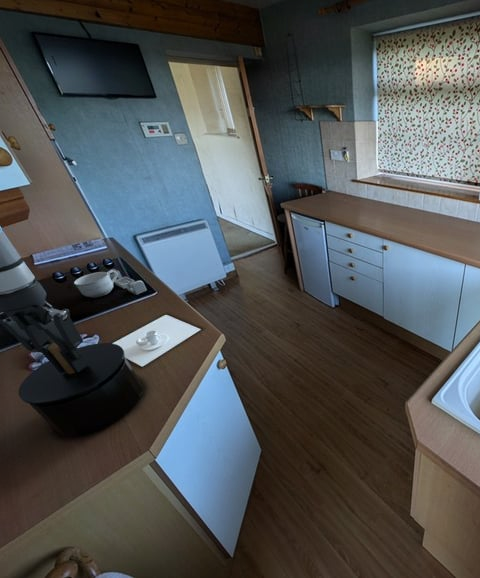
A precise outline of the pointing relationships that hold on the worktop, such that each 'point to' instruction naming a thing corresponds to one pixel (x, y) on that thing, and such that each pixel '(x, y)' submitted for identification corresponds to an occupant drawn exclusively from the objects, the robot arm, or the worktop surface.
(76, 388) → the lid
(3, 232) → the robot arm
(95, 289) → the teacup
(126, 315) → the worktop surface
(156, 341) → the teacup and saucer
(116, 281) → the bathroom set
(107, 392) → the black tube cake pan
